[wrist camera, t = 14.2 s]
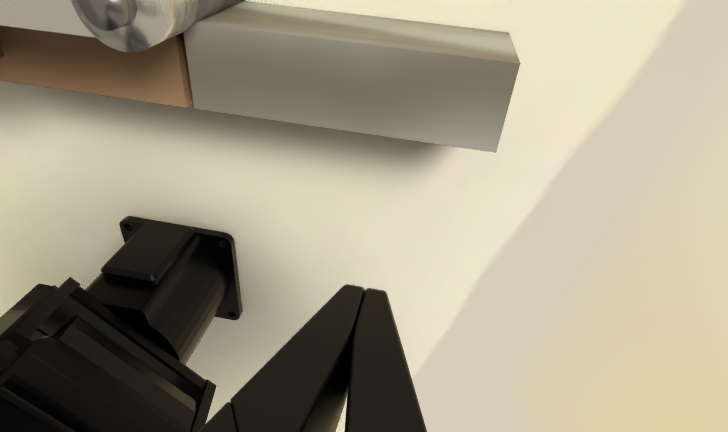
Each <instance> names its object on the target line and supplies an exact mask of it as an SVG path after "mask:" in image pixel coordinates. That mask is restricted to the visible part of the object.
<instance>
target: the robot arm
mask: <svg viewBox="0 0 728 432" xmlns="http://www.w3.org/2000/svg"><path fill="white" fill-rule="evenodd" d="M120 228H121V232H122V235H123V238H124V242H125V244H124V245H123V246H122V247H121V248H120V249H119V250H118V251H117V252H116V253H115V254H114V255H113V257H112V258H111V259H110V260H109V261H108V262H107V263H106V264H105V265H104V266H103V267H102V268H101V271H102V273H101V274H100V275H99V276H98V277H97V278H96V279H95V280H94V281H93V282H92V283H91V284H90V285H89V286H88V288H87V289H86V290H84V289H82V288H81V287H80V286H79V285H80V284H79V283H78V282H76V281H75V280H74V279H72V278H71V277H70V278H68V279H67V280H66V281H65V282H64V283H63V284H62V285H61V286H60V287H59V288H58V287H56V286H55V285H54V286H49V285H44V284H38V285H37V286H35V287H34V288H33V289H32V290H31V291H30V292H29V293H28V294H27V295H25V296H24V297H23V298H22V299H21V300H20V301H19V302H18V303H16V304H15V305H14V306H13V307H12V308H11V309H10V310H9V311H7V312H6V313H5V314H4V315H3V316H1V317H0V432H335V431H336V428H337V425H338V422H339V419H340V416H341V413H342V410H343V407H344V404H345V400H346V397H347V408H346V421H345V432H427V430H426V427H425V424H424V420H423V416H422V413H421V410H420V406H419V403H418V399H417V396H416V393H415V389H414V386H413V382H412V379H411V375H410V372H409V368H408V365H407V361H406V358H405V354H404V351H403V348H402V344H401V341H400V337H399V334H398V330H397V327H396V323H395V320H394V316H393V313H392V310H391V306H390V303H389V299H388V296H387V293H386V292H385V291H383V290H377V289H371V288H367V289H366V290H365V289H364V288H363V287H360V286H354V285H348V284H347V285H344V286H343V287H342V288H341V289H340V290H339V291H338V292H337V293H336V294H335V295H334V296H333V297H332V298H331V299H330V300H329V301H328V302H327V303H326V304H325V305H324V306H323V307H322V308H321V309H320V310H319V311H318V312H317V313H316V314H315V315H314V316H313V317H312V318H311V319H310V320H309V321H308V322H307V323H306V324H305V325H304V326H303V327H302V328H301V329H300V330H299V331H298V332H297V333H296V334H295V335H294V336H293V337H292V338H291V339H290V340H289V341H288V342H287V343H286V344H285V345H284V346H283V347H282V348H281V349H280V350H279V351H278V352H277V353H276V354H275V355H274V356H273V357H272V358H271V359H270V360H269V361H268V362H267V363H266V364H265V365H264V366H263V367H262V368H261V369H260V370H259V371H258V372H257V373H256V374H255V375H254V376H253V377H252V378H251V379H250V380H249V381H248V382H247V383H246V384H245V385H244V386H243V387H242V388H241V389H240V390H239V391H238V392H237V393H236V394H235V395H234V396H233V397H232V398H231V403H230V402H227V403H226V404H225V405H224V406H223V407H222V408H221V409H220V410H219V411H218V412H217V413H216V414H215V415H214V416H213V417H212V418H211V419H210V420H209V421H208V422H207V423H206V420H207V416H208V413H209V409H210V406H211V403H212V399H213V396H214V392H215V389H216V385H215V384H213V383H212V382H211V381H209V380H205V379H203V378H202V377H201V376H199V375H198V374H197V373H195V372H194V371H193V370H191V369H190V368H189V367H187V366H186V363H187V361H188V360H189V358H190V356H191V354H192V353H193V351H194V349H195V348H196V346H197V344H198V343H199V341H200V339H201V338H202V336H203V334H204V333H205V331H206V329H207V328H208V326H209V324H210V323H211V321H212V319H213V318H214V316H215V317H220V318H225V319H231V320H237V319H239V318H240V316H241V314H242V304H241V296H240V287H239V278H238V269H237V260H236V251H235V242H234V239H233V237H232V236H231V235H229V234H228V233H224V232H219V231H213V230H207V229H201V228H195V227H190V226H184V225H178V224H172V223H167V222H161V221H155V220H149V219H143V218H138V217H132V216H127V217H125V218H124V219H123V220H122V221H121V222H120ZM223 241H225V242H226V243H224V242H223ZM347 393H348V396H347ZM205 423H206V424H205Z"/></svg>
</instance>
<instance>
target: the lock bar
mask: <svg viewBox="0 0 728 432" xmlns="http://www.w3.org/2000/svg"><path fill="white" fill-rule="evenodd" d="M197 10H198V0H0V25H2V26H9V27H17V28H25V29H33V30H41V31H49V32H56V33H64V34H72V35H80V36H88V37H95V38H97V39H98V40H100V41H101V42H103V43H104V44H106V45H107V46H109V47H111V48H113V49H116V50H119V51H122V52H130V53H134V52H140V51H143V50H145V49H147V48H150V47H152V46H154V45H156V44H158V43H160V42H163V41H165V40H167V39H169V38H171V37H174V36H176V35H178V34H180V33H182V32H184V31H185V30H187V29H188V28H189V27H190V26H191V24H192V23H193V21H194V19H195V17H196V14H197Z"/></svg>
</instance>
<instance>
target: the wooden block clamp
mask: <svg viewBox="0 0 728 432" xmlns="http://www.w3.org/2000/svg"><path fill="white" fill-rule="evenodd" d="M519 66H520V62H519V59H518V56H517V53H516V51H515V48H514V45H513V43H512V40H511V37H510V34H509V33H507V32H499V31H490V30H482V29H474V28H465V27H457V26H448V25H440V24H432V23H423V22H415V21H406V20H398V19H390V18H381V17H373V16H364V15H356V14H348V13H339V12H331V11H323V10H314V9H306V8H297V7H289V6H281V5H272V4H264V3H255V2H247V1H244V0H198V10H197V14H196V17H195V19H194V21H193V23H192V24H191V26H190V27H189V28H188V29H187V30H185V31H184V32H182V33H180V34H178V35H176V36H174V37H171V38H169V39H167V40H165V41H163V42H160V43H158V44H156V45H154V46H152V47H150V48H147V49H145V50H143V51H140V52H134V53H130V52H122V51H119V50H116V49H113V48H111V47H109V46H107V45H106V44H104V43H103V42H101V41H100V40H98V39H97V38H95V37H88V36H80V35H72V34H64V33H56V32H49V31H41V30H33V29H25V28H17V27H9V26H2V25H0V80H1V81H7V82H14V83H21V84H28V85H35V86H42V87H49V88H55V89H62V90H69V91H76V92H83V93H90V94H97V95H104V96H110V97H117V98H124V99H131V100H138V101H145V102H152V103H159V104H165V105H172V106H179V107H186V108H187V107H188V106H189V105H191V104H192V103H194V109H200V110H207V111H213V112H220V113H227V114H234V115H241V116H248V117H255V118H262V119H268V120H275V121H282V122H289V123H296V124H303V125H310V126H317V127H323V128H330V129H337V130H344V131H351V132H358V133H365V134H372V135H378V136H385V137H392V138H399V139H406V140H413V141H420V142H426V143H433V144H440V145H447V146H454V147H461V148H468V149H475V150H481V151H488V152H495V153H496V151H497V147H498V143H499V140H500V136H501V132H502V128H503V125H504V121H505V117H506V114H507V110H508V106H509V103H510V99H511V95H512V91H513V88H514V84H515V80H516V77H517V73H518V69H519Z"/></svg>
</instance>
